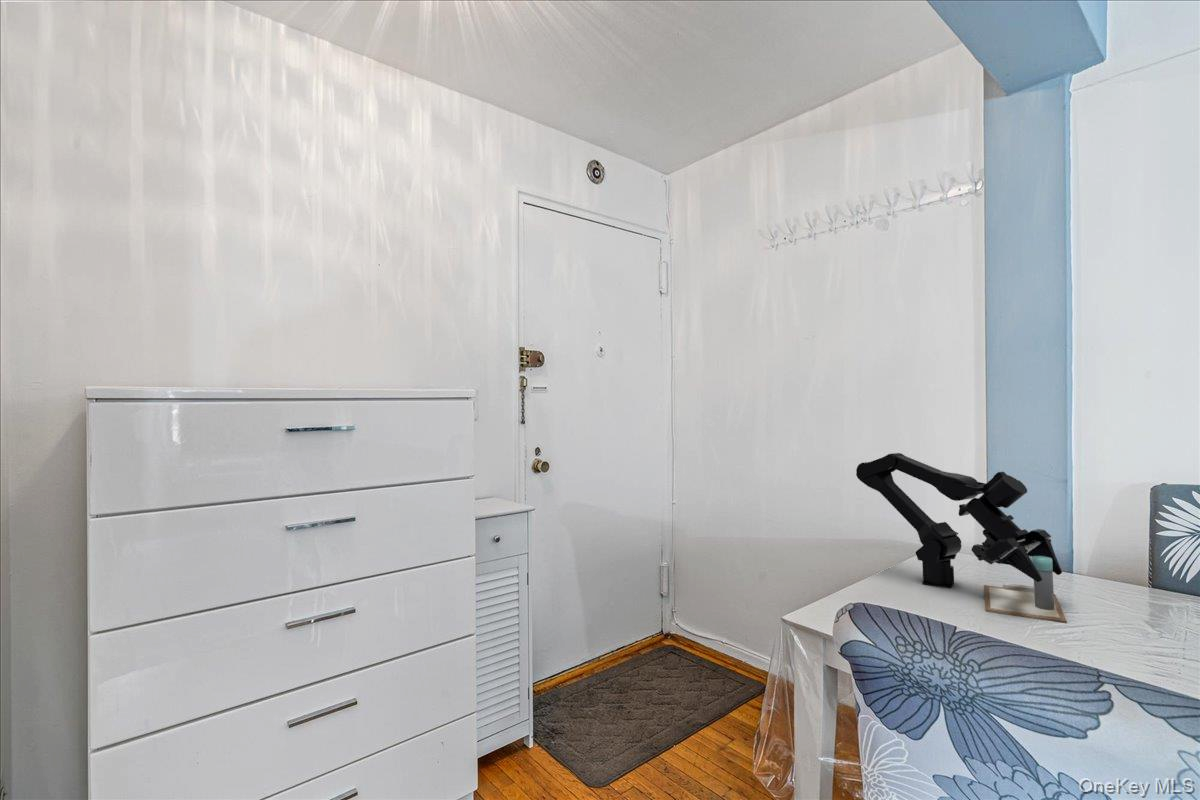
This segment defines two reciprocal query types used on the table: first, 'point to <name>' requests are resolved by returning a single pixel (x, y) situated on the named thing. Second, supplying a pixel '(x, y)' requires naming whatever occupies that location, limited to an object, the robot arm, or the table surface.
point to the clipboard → (1019, 602)
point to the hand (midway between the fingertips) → (1050, 577)
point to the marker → (1044, 583)
